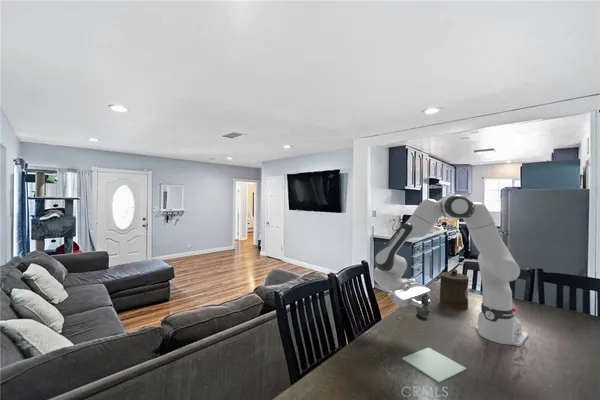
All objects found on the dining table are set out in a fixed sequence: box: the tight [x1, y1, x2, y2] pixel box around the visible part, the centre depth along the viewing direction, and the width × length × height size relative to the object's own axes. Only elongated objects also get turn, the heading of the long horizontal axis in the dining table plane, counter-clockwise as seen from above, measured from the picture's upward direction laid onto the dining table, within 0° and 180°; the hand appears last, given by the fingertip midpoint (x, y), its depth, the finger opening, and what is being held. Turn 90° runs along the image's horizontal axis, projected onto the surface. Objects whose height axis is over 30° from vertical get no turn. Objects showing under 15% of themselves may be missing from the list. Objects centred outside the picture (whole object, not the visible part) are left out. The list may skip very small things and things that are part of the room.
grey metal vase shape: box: [415, 293, 432, 322], centre depth 119 cm, size 6×6×12 cm
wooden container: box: [439, 268, 469, 311], centre depth 163 cm, size 15×15×22 cm
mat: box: [401, 347, 467, 384], centre depth 105 cm, size 16×16×1 cm
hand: (426, 304), depth 118 cm, fingers closed on grey metal vase shape, 4 cm apart
